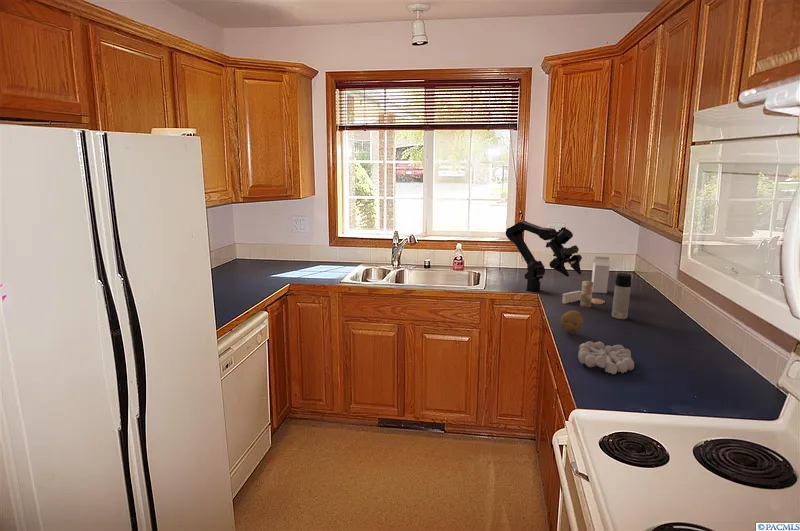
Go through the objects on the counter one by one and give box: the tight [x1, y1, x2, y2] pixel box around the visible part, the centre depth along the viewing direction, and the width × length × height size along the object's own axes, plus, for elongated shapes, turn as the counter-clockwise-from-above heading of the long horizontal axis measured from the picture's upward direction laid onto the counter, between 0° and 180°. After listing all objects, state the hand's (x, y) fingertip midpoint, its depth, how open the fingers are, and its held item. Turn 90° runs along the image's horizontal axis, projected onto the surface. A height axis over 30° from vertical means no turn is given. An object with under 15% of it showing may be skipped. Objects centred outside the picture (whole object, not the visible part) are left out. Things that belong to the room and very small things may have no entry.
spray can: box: [611, 272, 632, 320], centre depth 241 cm, size 7×7×20 cm
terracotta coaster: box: [591, 297, 606, 305], centre depth 267 cm, size 9×9×1 cm
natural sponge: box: [560, 309, 584, 335], centre depth 218 cm, size 9×9×10 cm
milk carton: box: [591, 256, 610, 294], centre depth 285 cm, size 7×7×19 cm
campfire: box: [577, 340, 635, 375], centre depth 190 cm, size 22×21×6 cm
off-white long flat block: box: [561, 290, 582, 305], centre depth 266 cm, size 12×2×5 cm, turn 124°
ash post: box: [579, 280, 593, 308], centre depth 258 cm, size 5×5×12 cm
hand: (574, 275), depth 263 cm, fingers open, 9 cm apart
